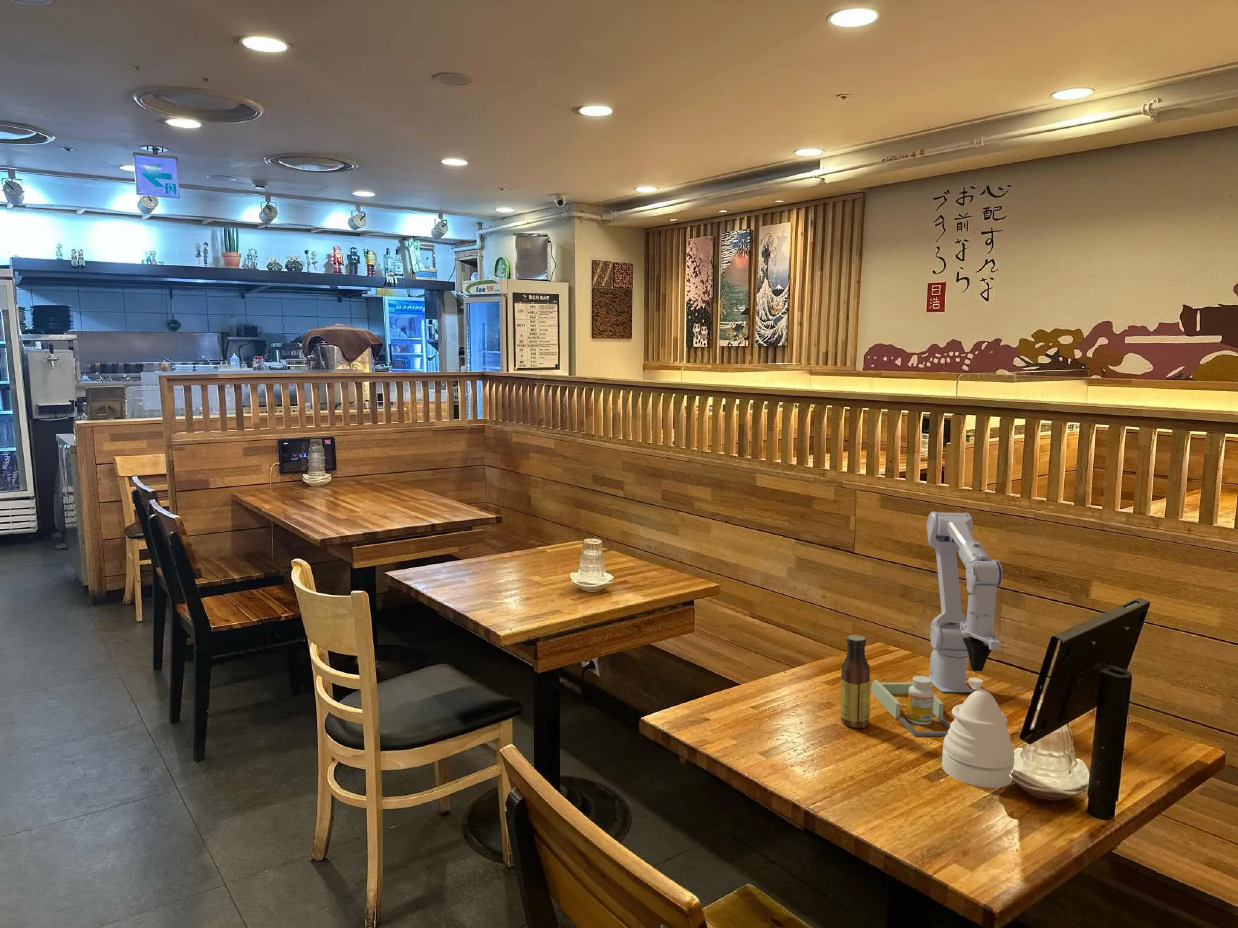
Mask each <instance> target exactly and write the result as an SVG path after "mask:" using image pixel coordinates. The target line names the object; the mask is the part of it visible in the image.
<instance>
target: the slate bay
mask: <svg viewBox="0 0 1238 928" xmlns="http://www.w3.org/2000/svg"><path fill="white" fill-rule="evenodd" d="M897 720H898V721H899V722H900V723H901V724H902V725H903V726H904V727H905V728H906V729H907V730H908V732H910V734H911V735H912V736H913V737H945V736H946V735H947V734H948V730H949V728H950V725H951V723H949V722H948V720H946V719H945V718H944V716H943V717H936V720H937V721H938V722H939V723H940V724H942V726H944V727H945V729H946V730H945V731H942V730H941V731H939V730H938V731H935V730H934V731H933V730H932V731H917V730H916V729H915V728H914V727H913V726H912V724H910V722H909V721H907V719H906V718H905V717H904V716H900V717H899V719H897Z"/></svg>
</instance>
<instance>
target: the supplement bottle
mask: <svg viewBox="0 0 1238 928" xmlns="http://www.w3.org/2000/svg"><path fill="white" fill-rule="evenodd" d="M931 682H932V680H931V679H930V678H928V677H926V676H923V675H915V676H913V677H912V682H911V683H912V684H913V685H912V686H911V687H910V688H909V691H908V694H907V709H906V718H907V719H906V720H908V722H909V723H912V724H915V725H920V726H922V725H923V726H926V725H927V726H928V725H930V724H932V722H933V718H934V717H933V715H934V714H933V702H934V695H935V692H934V689H933V688H931V687H932V683H931Z"/></svg>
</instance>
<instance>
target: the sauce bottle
mask: <svg viewBox="0 0 1238 928" xmlns="http://www.w3.org/2000/svg"><path fill="white" fill-rule="evenodd" d="M846 644H847V650H846V651H847V652H846V658H845V659H844V661H843V663H842V665H841V674H840V675H841V676H840V678H841V680H840V722H842V724H843V725H845V726H846V727H849V728H854V729H863V728H867V727H868V726H869V723H870V716H871V714H870V712H871V711H870V710H871V677H870V676H871V668H870V667H871V665H870V664H869V662H868V660H867V658H866V654H865V653H866V645H867V638H866V637H865V636H863V635H859V634H850V635H848V636H846Z"/></svg>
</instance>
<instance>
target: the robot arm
mask: <svg viewBox="0 0 1238 928" xmlns="http://www.w3.org/2000/svg"><path fill="white" fill-rule="evenodd" d="M973 529H974V522H973V517H972V516H971V514H970V513H969V512H945V511H944V512H939V511H938V512H937V511H931V512H930V513H929V514H928V516H927V522H926V533H927V541H928V545H929V546H930V547H932V548H933V549H934V550H935V552H934V553H935V556H936V566H937V577H938V578H937V579H938V588H939V591H938V592H939V599H940V611H941V612H940V614H938V615H937V616H935V617H934V618H933V619H932V621H931V622H930V633H929V634H930V635H929V637H930V638H929V639H930V645H931V647H932V649H933V650H932V651H931V654H930V659H929V660H930V661H929V675H928V676H925V677H928V678H930V679H931V680H932V682H931V685H933V686H934V687H935V688H936V689H937V690H938V691H940V692H941V693H973V692H974V689H972V688H971V687H969V686H968V685H967V673H968V660H969V665H970V669H971V670H972V671H973V672H983V671H984V669H985V668H984V667H985V665H986V662H987V660H988V658H989V655H990V654H991V652H993V651H1000V650H1001V641H1000V640H998V638H997V635H996V634H995V633H994V631H995V630H994V628H995V617H996V601H997V588H998V587H1000V586H1001V585H1002V582H1003V578H1004V577H1003V576H1004V575H1003V574H1004V573H1003V568H1002V565H1001V563H1000V560H997V559H991V558H990V556H989V554H988V552H987V550H985V548H984V546H983V544H982V543H981V542H979V541H976V540H975V539H974V536H973V534H972V532H973ZM957 551H958V557H959V558H960V560H961V562H962V564H963V565H964V567H965V578H966V579H965V580H966V591H967V592H968V596H967V597H968V599H967V610H966V611H967V613H966V614H965V613H963V607H962V599H961V597H962V596H961V588H960V587H961V586H960V578H959V570H958V569H959V567H958V559H957Z"/></svg>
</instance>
